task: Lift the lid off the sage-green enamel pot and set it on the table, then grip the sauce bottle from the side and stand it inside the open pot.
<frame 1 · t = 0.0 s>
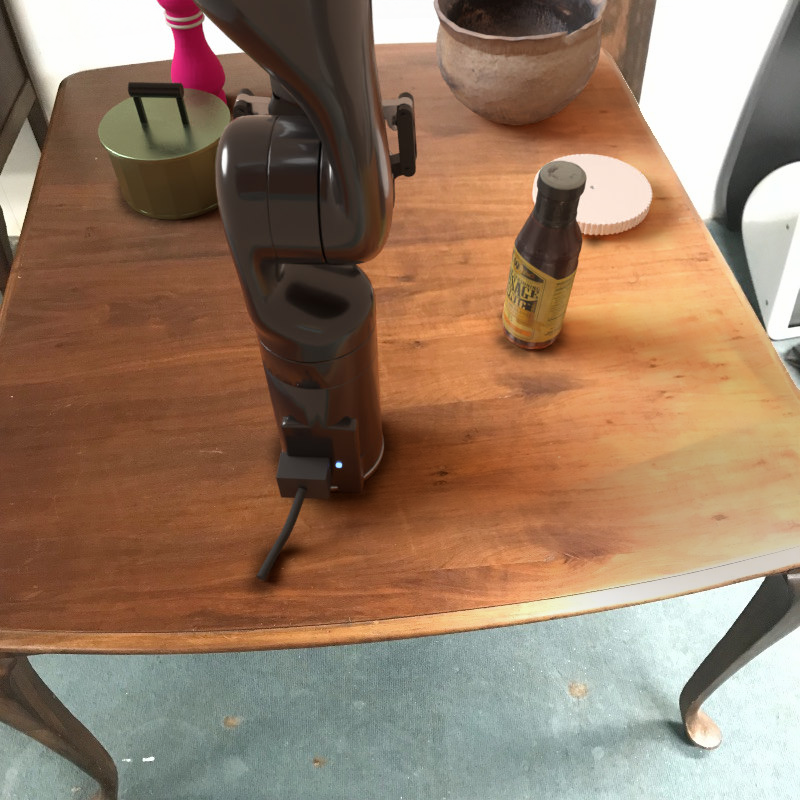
hand: (333, 210, 67), 17 cm above the table, tool pointing down, fingers open, 8 cm apart
ceramic bowl: (509, 107, 109), on the table
pot lid: (166, 126, 92), point 8 cm above the table, touching pot
plastic lid: (588, 206, 95), on the table
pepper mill: (205, 108, 110), on the table
sauce bottle: (530, 334, 81), on the table
pot: (181, 184, 98), on the table
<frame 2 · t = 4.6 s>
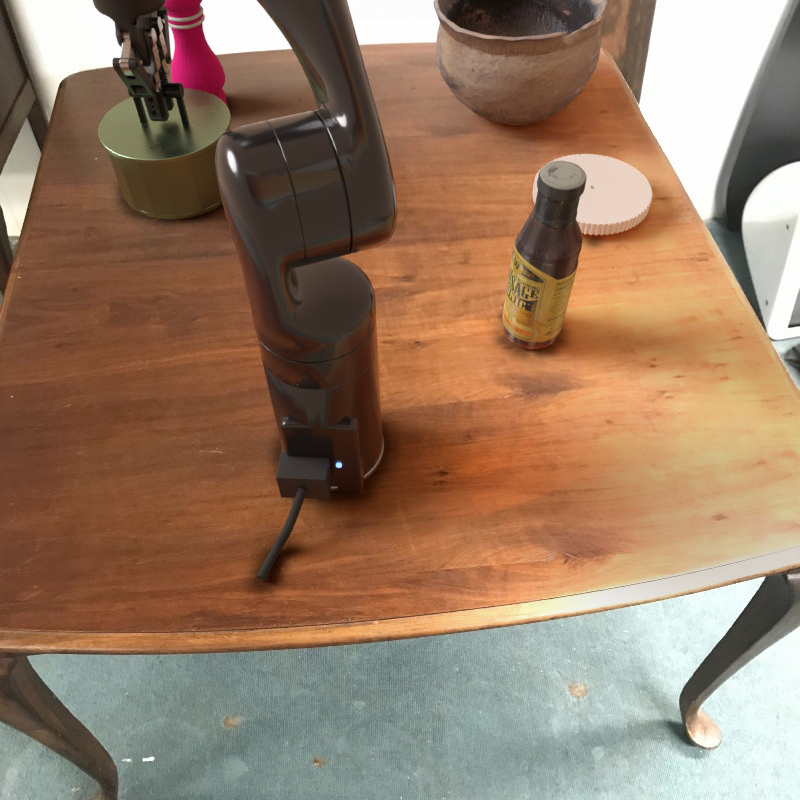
hand: (162, 113, 91), 10 cm above the table, tool pointing down, fingers closed on pot lid
pot lid: (166, 126, 92), point 8 cm above the table, touching gripper, pot
everything else where it was.
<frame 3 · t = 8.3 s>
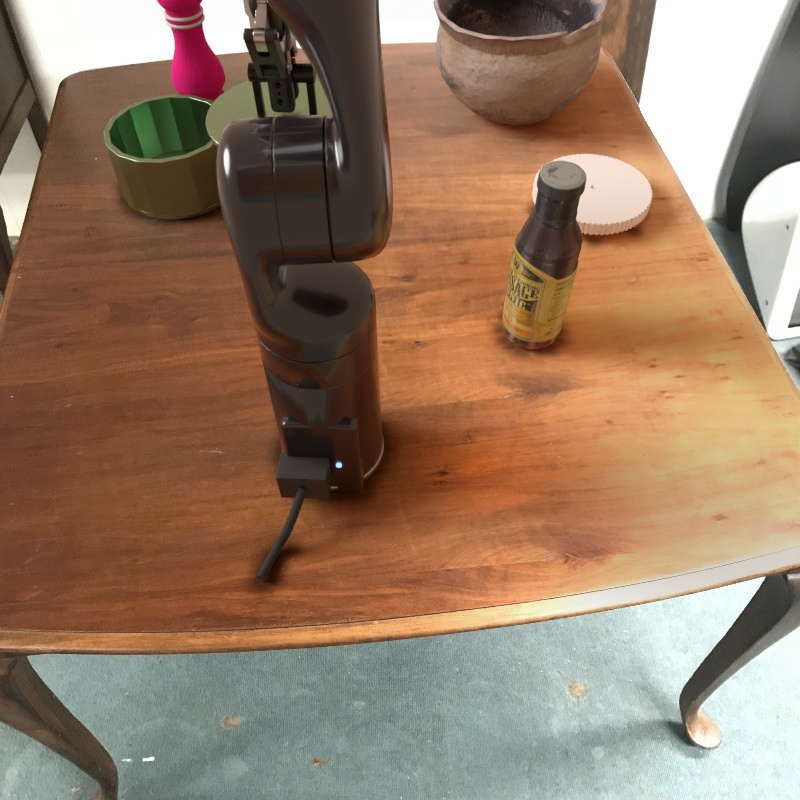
hand: (285, 103, 72), 20 cm above the table, tool pointing down, fingers closed on pot lid
pot lid: (288, 119, 74), point 18 cm above the table, touching gripper
everything else where it was.
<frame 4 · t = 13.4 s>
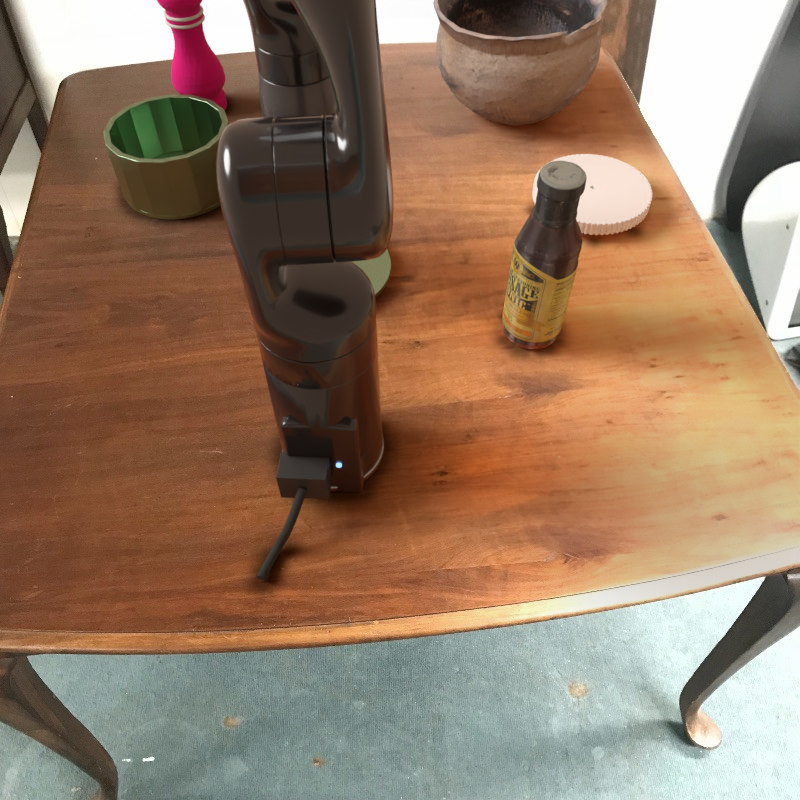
hand: (319, 249, 84), 4 cm above the table, tool pointing down, fingers open, 8 cm apart
pot lid: (322, 269, 87), point 1 cm above the table
everything else where it was.
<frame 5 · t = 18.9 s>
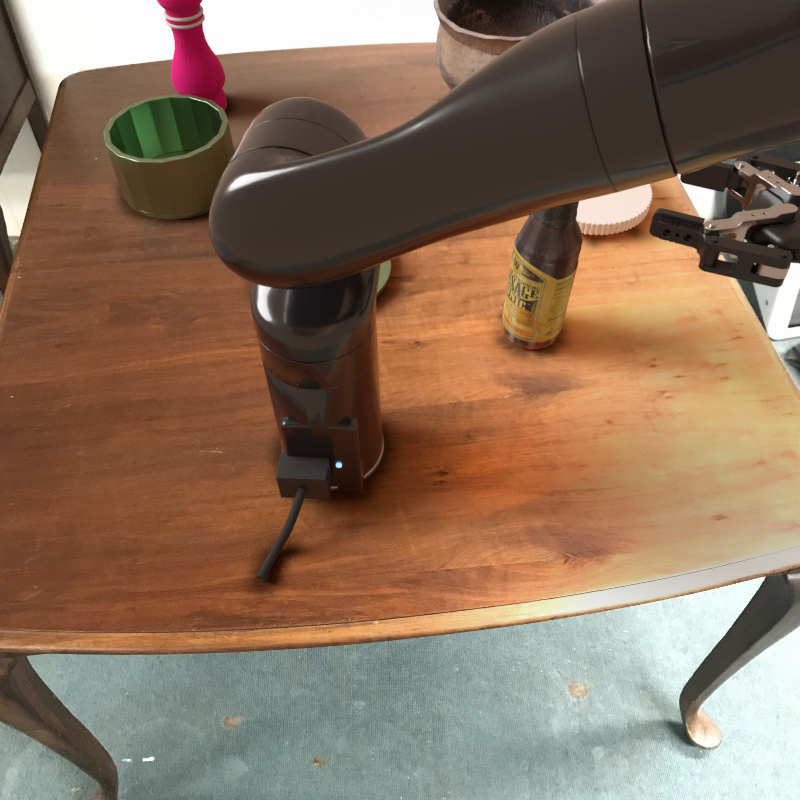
hand: (668, 194, 63), 20 cm above the table, tool horizontal, fingers open, 8 cm apart
nothing on the table moved.
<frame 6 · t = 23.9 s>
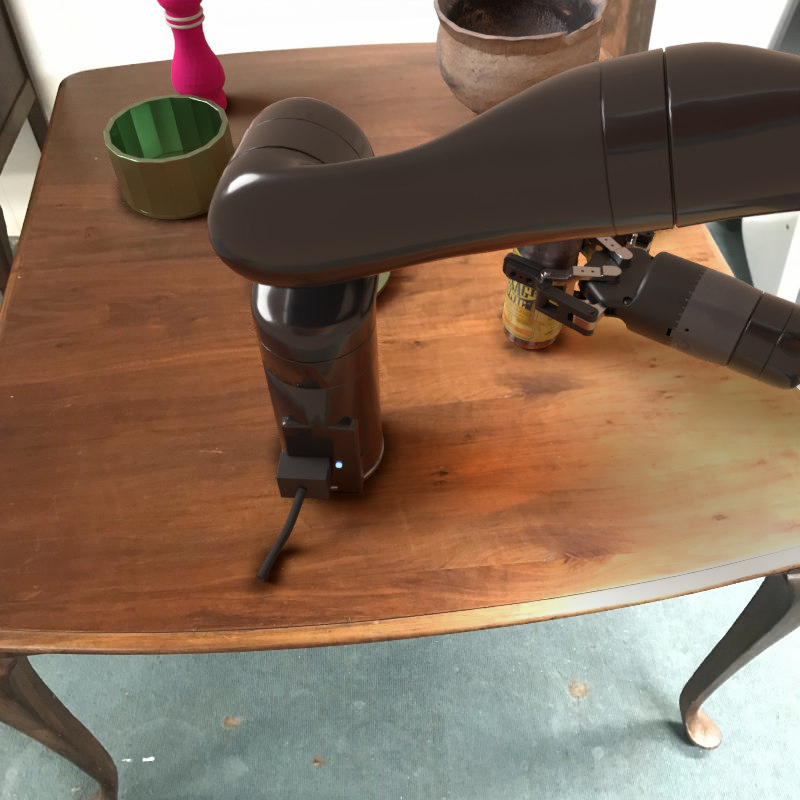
hand: (522, 242, 73), 11 cm above the table, tool horizontal, fingers closed on sauce bottle, 6 cm apart
sauce bottle: (531, 334, 81), on the table, touching gripper
everything else where it was.
when the fingers open (12 cm above the table, at t = 37.9 s): sauce bottle stays where it is, resting on pot.
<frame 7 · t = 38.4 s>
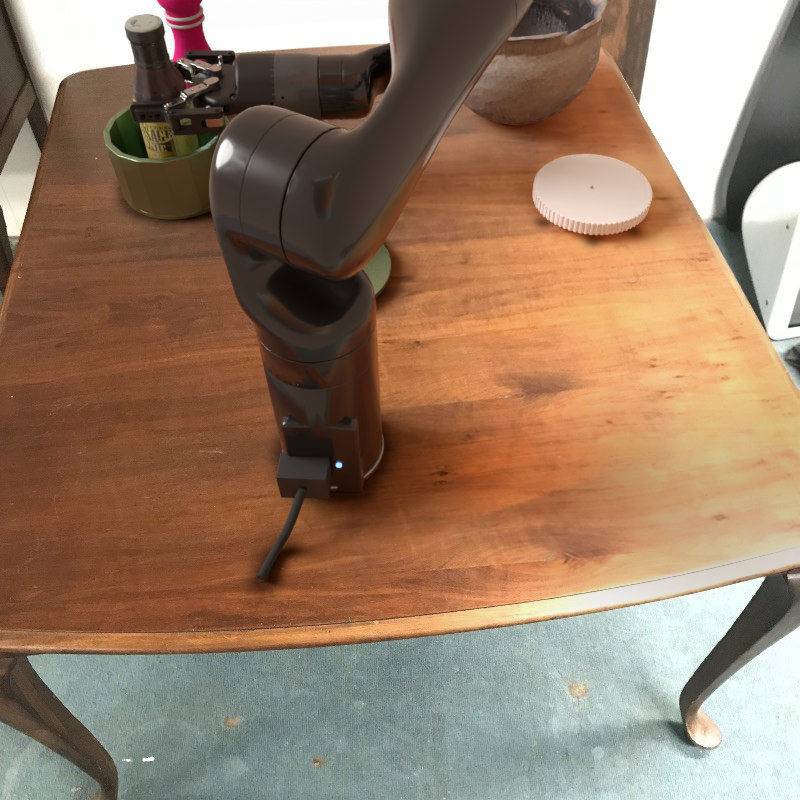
hand: (139, 92, 88), 13 cm above the table, tool horizontal, fingers open, 8 cm apart
sauce bottle: (182, 180, 98), resting on pot
everything else where it was.
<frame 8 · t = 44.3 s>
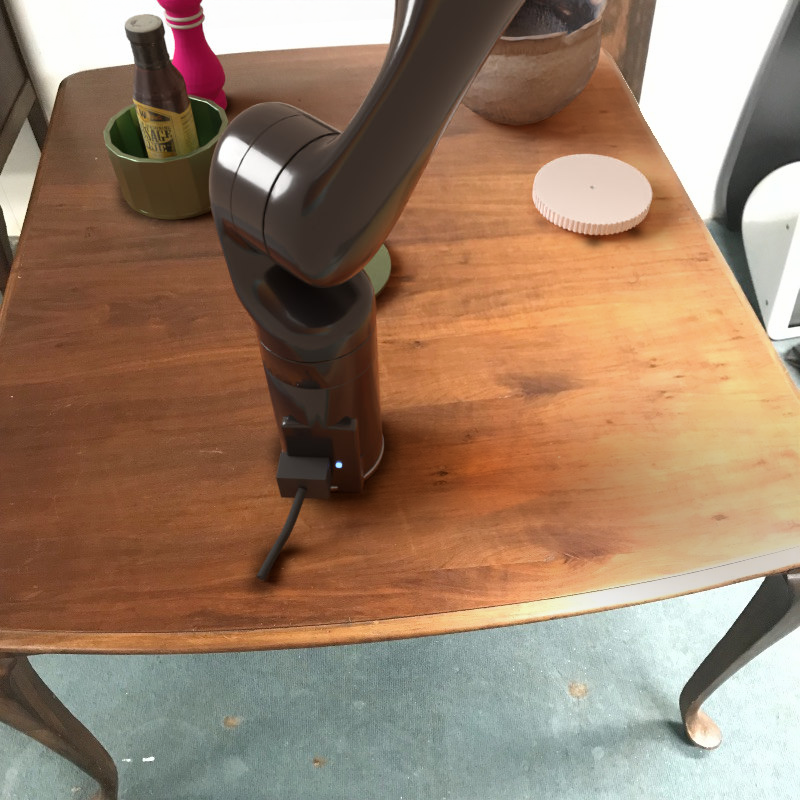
nothing on the table moved.
at the end: sauce bottle inside the target area in the pot (0.2 cm from its centre), point 0.4 cm above the pot's base; sauce bottle tilted 0°; pot lid inside the target area (0.2 cm from its centre), point 0.6 cm above the table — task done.
